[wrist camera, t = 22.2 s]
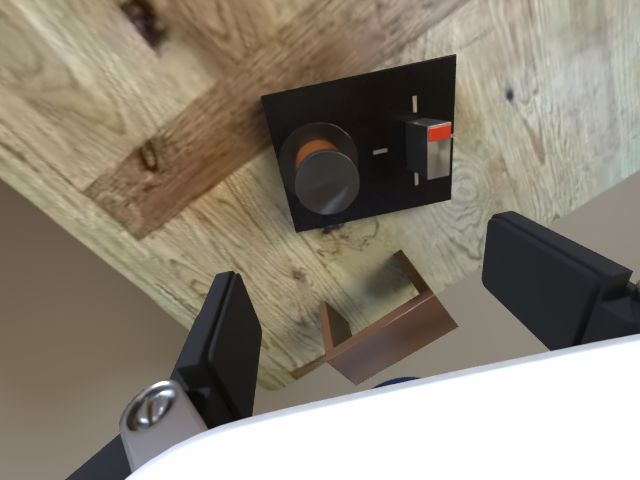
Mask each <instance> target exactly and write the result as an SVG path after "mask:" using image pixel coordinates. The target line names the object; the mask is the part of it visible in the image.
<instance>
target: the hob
mask: <svg viewBox="0 0 640 480" xmlns="http://www.w3.org/2000/svg"><path fill="white" fill-rule="evenodd" d="M455 79H456V54H454V55H449V56H445V57H440V58H435V59H431V60H426V61H421V62H417V63H412V64H408V65H403V66H398V67H394V68H389V69H384V70H380V71H375V72H371V73H366V74H361V75H357V76H352V77H348V78H343V79H338V80H334V81H329V82H324V83H320V84H315V85H311V86H306V87H301V88H297V89H292V90H287V91H283V92H278V93H274V94H269V95H264V96H261V100H262V103H263V107H264V111H265V115H266V119H267V123H268V127H269V130H270V134H271V138H272V142H273V146H274V150H275V154H276V157H277V161H278V165H279V157H280V152H281V149H282V146H283V144H284V142H285V141H286V139H287V138H288V136H289V135H290V134H291V133H292V132H293V131H294V130H296V129H297V128H299V127H300V126H302V125H305V124H308V123H311V122H327V123H331V124H333V125H336V126H338V127H339V128H341V129H342V130H344V131H345V132H346V133H347V134H348V135H349V136H350V138H351V139H352V141H353V142H354V144H355V146H356V150H357V153H358V173H359V180H360V183H359V190H358V193H357V195H356V197H355V199H354V200H353V202H352V203H351V204H350V205H349V206H348V207H347V208H345V209H344V210H342V211H340V212H338V213H335V214H329V215H324V214H318V213H315V212H312V211H310V210H309V209H307V208H306V207H305V206H304V205H303V204H302V203H301V201H300V200H299V198H298V197H297V196H295V195H294V194H293V193H292V192H290V190H289V189H288V188H287V187H286V185H285V184H284V182H283V184H284V188H285V192H286V196H287V200H288V204H289V207H290V211H291V215H292V219H293V223H294V227H295V231H296V233H297V232H302V231H307V230H311V229H316V228H321V227H325V226H330V225H335V224H339V223H344V222H349V221H353V220H358V219H362V218H367V217H372V216H376V215H381V214H386V213H390V212H395V211H400V210H404V209H409V208H414V207H418V206H423V205H428V204H432V203H437V202H442V201H446V200H451V185H452V159H453V138H454V137H458V133H454V134H453V132H454V106H455ZM422 118H428V119H435V120H442V121H449V122H451V140H450V170H449V175H448V176H443V177H439V178H434V179H429V180H427V179H426V178H424V177H422V176H421V175H419V174H417V173H415V172H414V171H412V170H410V169H409V168H407V158H406V132H405V122H408V121H413V120H418V119H422Z"/></svg>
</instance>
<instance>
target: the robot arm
mask: <svg viewBox="0 0 640 480" xmlns="http://www.w3.org/2000/svg"><path fill="white" fill-rule="evenodd" d="M632 272H633V271H632V270H630V269H628V268H626V267H624V266H622V265H620V264H618V263H615V262H614V261H611V260H610V259H608V258H606V257H604V256H602V255H600V254H598V253H596V252H594V251H592V250H590V249H588V248H586V247H584V246H582V245H580V244H578V243H576V242H574V241H572V240H570V239H568V238H566V237H564V236H562V235H560V234H558V233H556V232H554V231H552V230H550V229H548V228H546V227H544V226H542V225H540V224H538V223H536V222H534V221H532V220H530V219H528V218H526V217H524V216H522V215H520V214H518V213H516V212H514V211H508V212H503V213H498V214H495V215H493V217H492V219H490V220H489V221H488V225H487V234H486V243H485V253H484V262H483V271H482V282H483V285H484V286H485V288H486V289H487V290H488V291H489V292H490V293H491V294H493V295H494V296H495V297H496V298H497V299H498V300H499V301H500V302H501V303H502V304H503V305H504V306H505V307H506V308H507V309H508V310H509V311H510V312H511V313H512V314H513V315H514V316H515V317H516V318H517V319H519V320H520V321H521V322H522V323H523V324H524V325H525V326H526V327H527V328H528V329H529V330H530V331H531V332H532V333H533V334H534V335H535V336H536V337H537V338H538V339H539V340H540V341H541V342H542V343H543V344H544V345H545V346H546V347H547V348H548V349H549V350H550V352H545V353H540V354H535V355H530V356H525V357H521V358H516V359H512V360H506V361H501V362H497V363H492V364H487V365H483V366H478V367H473V368H469V369H464V370H459V371H454V372H450V373H445V374H440V375H435V376H431V377H426V378H421V379H417V380H412V381H407V382H403V383H398V384H393V385H389V386H384V387H380V388H375V389H371V390H366V391H362V392H357V393H353V394H348V395H343V396H339V397H334V398H330V399H325V400H320V401H316V402H311V403H307V404H303V405H299V406H294V407H290V408H286V409H282V410H277V411H274V412H269V413H265V414H260V415H256V416H252V413H253V404H254V396H255V388H256V380H257V372H258V363H259V355H260V347H261V339H262V329H261V325H260V323H259V320H258V318H257V315H256V313H255V310H254V308H253V305H252V303H251V300H250V298H249V295H248V293H247V290H246V288H245V285H244V283H243V280H242V278H241V275H240V274H239V273H237V274H235V273H234V271H228V272H224V273H219V274H216V276H215V278H214V281H213V283H212V285H211V288H210V290H209V292H208V295H207V297H206V299H205V302H204V304H203V307H202V309H201V311H200V314H199V315H198V316H197V317H196V319H195V321H194V323H193V326H192V328H191V330H190V333H189V335H188V337H187V340H186V342H185V344H184V347H183V349H182V351H181V353H180V356H179V358H178V360H177V363H176V365H175V368H174V370H173V372H172V374H171V377H170V379H166V380H161V381H158V382H156V383H153V384H151V385H150V386H148V387H147V388H145V389H143V390H142V391H141V392H140V393H139V394H137V395H136V396H135V397H134V398H133V400H132V401H131V402H130V403H129V404H128V405H127V407H126V409H125V410H124V412H123V413H122V416H121V419H120V422H119V431H120V434H119V435H118V436H116V437H115V438H114V439H113V440H112V441H111V442H109V443H108V444H107V445H106V446H105V447H103V448H102V449H101V450H100V451H99V452H98V453H96V454H95V455H94V456H93V457H92V458H90V459H89V460H88V461H87V462H86V463H85V464H83V465H82V466H81V467H80V468H79V469H77V470H76V471H75V472H74V473H73V474H71V475H70V476H69V477H68V478H67V479H66V480H640V280H639V281H638V282H637V284H636V285H635V284H633V283H632V282H630V281H629V279H630V277H631V275H632Z"/></svg>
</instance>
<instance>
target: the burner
mask: <svg viewBox="0 0 640 480" xmlns="http://www.w3.org/2000/svg"><path fill="white" fill-rule="evenodd" d="M313 140H326V141H329V142H331V143H332V144H334V145H335V146H336V147H337V148H338V149H339V150H340V151H341V152H342V153H344V154H345V155H346V156H347V157H348V158H349V159H350V160H351V161H352V162H353V163H354V165H355V166H356V168H357V170H358V153H357V150H356V146H355V144H354V142H353V141H352V139H351V138H350V136H349V135H348V134H347V133H346V132H345V131H344V130H342V129H341V128H339V127H338V126H336V125H333V124H331V123H327V122H311V123H308V124H305V125H302V126H300V127H299V128H297V129H296V130H294V131H293V132H292V133H291V134H290V135H289V136H288V138H287V139H286V141H285V142H284V144H283V146H282V149H281V152H280V157H279V169H280V174H281V177H282V180H283V182H284V184H285V185H286V187H287V188H288V189H289V190H290V192H292V193H293V194H294V195H295V196H297V193H296V188H295V175H296V170H295V160H296V156H297V154H298V152H299V150H300V149H301V148H302V147H303V146H304V145H305V144H307V143H308V142H310V141H313ZM297 197H298V196H297Z"/></svg>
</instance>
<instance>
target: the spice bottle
mask: <svg viewBox="0 0 640 480" xmlns="http://www.w3.org/2000/svg"><path fill="white" fill-rule="evenodd" d="M295 170H296V175H295V188H296V193H297V196H298V198H299V200H300V201H301V203H302V204H303V205H304V206H305V207H306V208H307V209H309V210H310V211H312V212H315V213H318V214H324V215H329V214H335V213H338V212H340V211H342V210H344V209H345V208H347V207H348V206H349V205H350V204H351V203H352V202H353V200H354V199H355V197H356V195H357V193H358V190H359V183H360V180H359V173H358V170H357V168H356V166H355V165H354V163H353V162H352V161H351V160H350V159H349V158H348V157H347V156H346V155H345V154H344V153H342V152H341V151H340V150H339V149H338V148H337V147H336V146H335V145H334V144H332V143H331V142H329V141H326V140H313V141H310V142H308V143H307V144H305V145H304V146H303V147H302V148H301V149H300V150H299V152H298V154H297V156H296V160H295Z"/></svg>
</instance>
